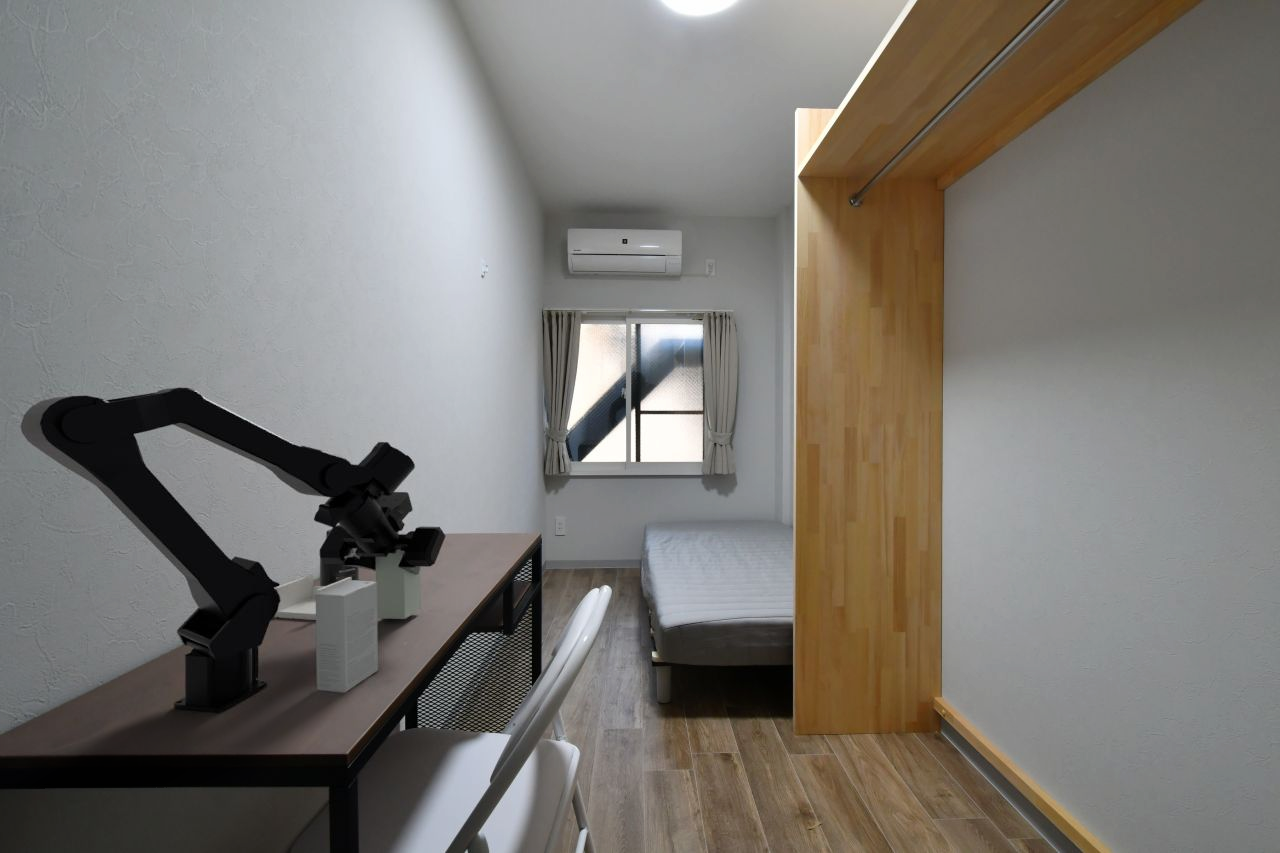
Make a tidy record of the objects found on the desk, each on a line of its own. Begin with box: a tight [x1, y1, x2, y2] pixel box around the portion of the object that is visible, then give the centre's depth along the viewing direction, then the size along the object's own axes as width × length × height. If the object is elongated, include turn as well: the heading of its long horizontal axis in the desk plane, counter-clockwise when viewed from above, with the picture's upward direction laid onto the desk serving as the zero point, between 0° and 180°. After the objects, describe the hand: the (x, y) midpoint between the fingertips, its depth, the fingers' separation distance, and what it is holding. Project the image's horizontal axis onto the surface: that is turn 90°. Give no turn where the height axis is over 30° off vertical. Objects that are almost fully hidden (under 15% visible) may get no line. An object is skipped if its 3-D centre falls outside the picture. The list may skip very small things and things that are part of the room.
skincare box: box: [315, 580, 379, 694], centre depth 67 cm, size 6×4×12 cm
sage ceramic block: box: [375, 549, 422, 620], centre depth 89 cm, size 5×5×13 cm
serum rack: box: [274, 574, 352, 621], centre depth 92 cm, size 8×17×5 cm, turn 81°
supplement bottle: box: [319, 529, 360, 586], centre depth 104 cm, size 7×7×12 cm
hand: (403, 571), depth 90 cm, fingers closed on sage ceramic block, 5 cm apart
